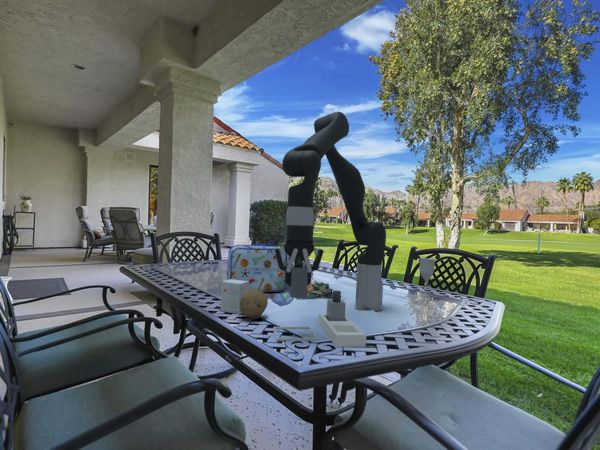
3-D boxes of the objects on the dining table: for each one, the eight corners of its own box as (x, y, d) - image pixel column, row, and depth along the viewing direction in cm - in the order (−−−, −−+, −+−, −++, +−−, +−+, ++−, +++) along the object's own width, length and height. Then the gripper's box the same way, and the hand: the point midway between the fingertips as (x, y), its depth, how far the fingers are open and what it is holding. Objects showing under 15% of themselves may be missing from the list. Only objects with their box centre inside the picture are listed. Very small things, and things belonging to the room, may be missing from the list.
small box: (248, 311, 121) (249, 281, 121) (239, 314, 116) (240, 283, 116) (229, 307, 125) (230, 278, 125) (220, 311, 120) (221, 280, 120)
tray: (310, 331, 102) (310, 326, 102) (317, 343, 92) (317, 338, 92) (273, 332, 100) (273, 326, 100) (276, 344, 90) (276, 338, 90)
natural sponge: (262, 325, 105) (263, 293, 105) (234, 322, 107) (235, 290, 107) (269, 317, 114) (271, 287, 114) (244, 315, 116) (245, 285, 116)
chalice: (435, 299, 154) (437, 259, 154) (432, 302, 148) (434, 260, 148) (418, 296, 158) (420, 257, 158) (414, 299, 152) (416, 258, 152)
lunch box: (284, 288, 164) (286, 242, 163) (290, 293, 154) (292, 244, 153) (225, 289, 156) (227, 240, 155) (227, 294, 146) (229, 242, 145)
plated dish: (274, 286, 172) (275, 271, 171) (327, 286, 179) (328, 272, 179) (291, 304, 138) (292, 286, 138) (355, 303, 146) (357, 286, 145)
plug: (304, 293, 98) (305, 255, 98) (306, 297, 94) (308, 256, 94) (288, 293, 97) (289, 254, 97) (290, 297, 93) (292, 256, 93)
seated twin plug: (340, 325, 105) (341, 289, 105) (344, 330, 101) (346, 292, 101) (326, 325, 105) (327, 289, 105) (329, 330, 100) (331, 292, 100)
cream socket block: (318, 326, 107) (318, 311, 107) (343, 326, 108) (343, 311, 108) (335, 350, 87) (336, 332, 87) (365, 350, 89) (366, 332, 89)
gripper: (321, 224, 100) (319, 282, 100) (272, 222, 98) (270, 282, 98) (328, 224, 93) (326, 288, 93) (275, 223, 90) (273, 288, 91)
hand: (297, 285), depth 95 cm, fingers closed on plug, 4 cm apart
